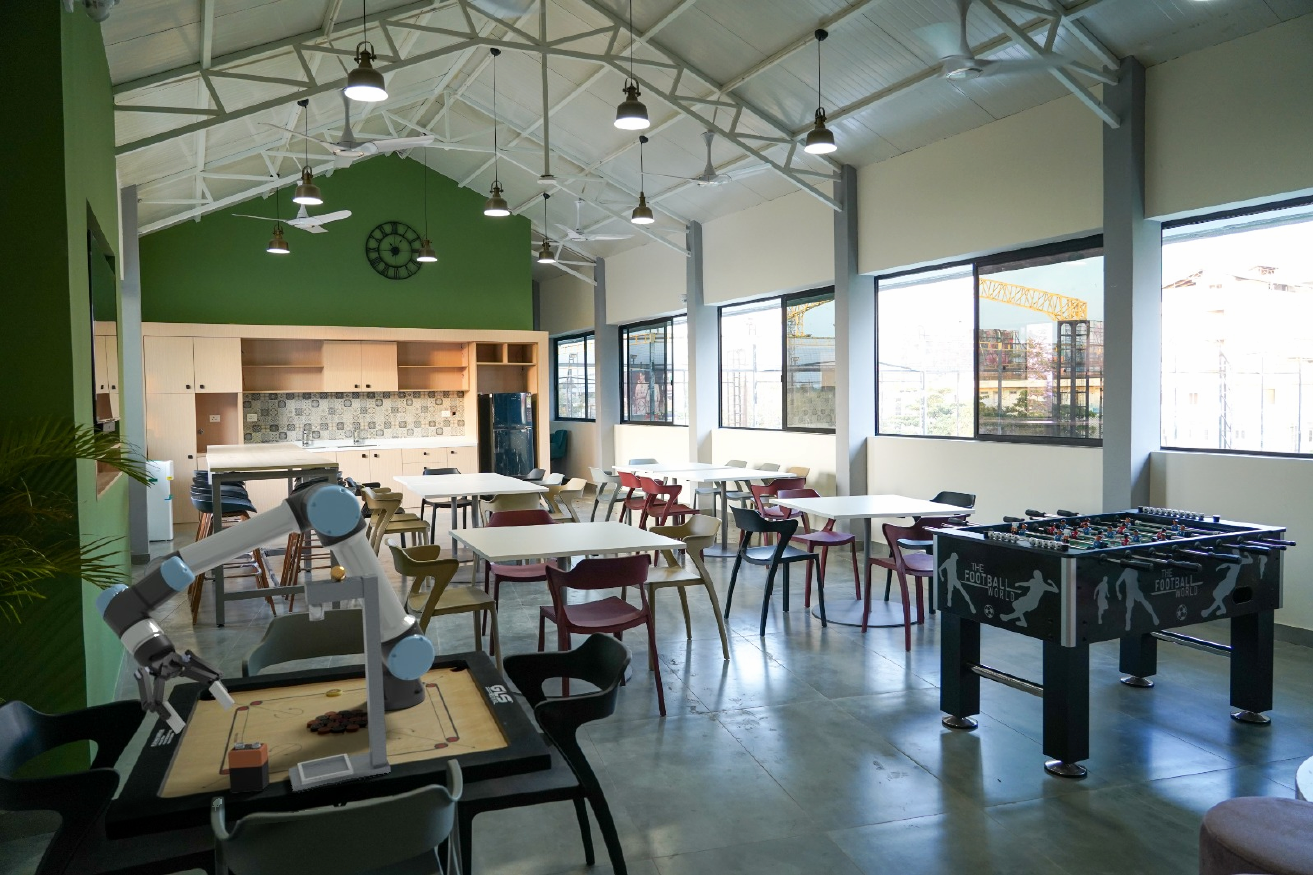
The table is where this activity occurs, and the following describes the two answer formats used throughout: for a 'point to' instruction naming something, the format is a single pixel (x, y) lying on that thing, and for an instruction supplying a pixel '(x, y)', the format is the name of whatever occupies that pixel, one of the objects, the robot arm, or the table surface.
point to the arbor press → (376, 759)
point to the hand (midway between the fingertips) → (206, 717)
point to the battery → (248, 767)
